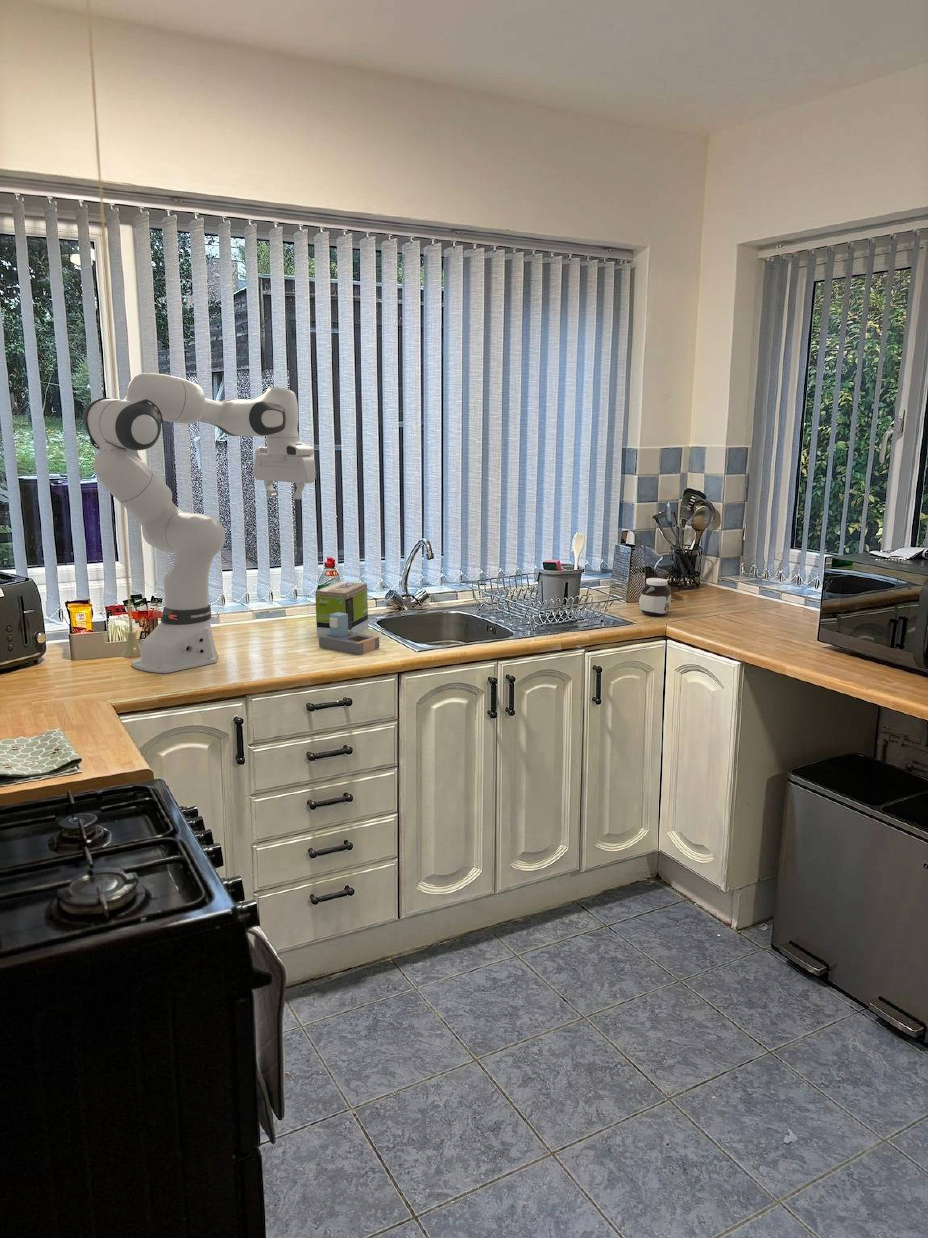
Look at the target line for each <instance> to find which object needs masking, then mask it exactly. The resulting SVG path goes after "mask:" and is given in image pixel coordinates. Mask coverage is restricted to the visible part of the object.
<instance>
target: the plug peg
mask: <svg viewBox="0 0 928 1238" xmlns="http://www.w3.org/2000/svg"><path fill="white" fill-rule="evenodd" d="M330 636H331V637H337V638H343V637H346V636H348V614H346V613H340V612H337V613H333V614H330Z"/></svg>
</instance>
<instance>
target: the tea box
mask: <svg viewBox="0 0 928 1238" xmlns="http://www.w3.org/2000/svg"><path fill="white" fill-rule="evenodd" d="M314 593H315V594H314V596H315V597H314V598H315V616H316V617H315V618H316V619H315V622H316V635H317V637H319V636H322V635H326V634H329V633H330V614H333V613H337V612H340V613H346V614H348V632H353V633H358V634H360V633H361V632H363V631H365V630H369V608H368V607H369V606H368V605H369V604H368V583H365V582H364V583H363V582H349V581H336V582H333V583H332V584H328V585H326V586H324V587H321V588H319V589H317V590H315V591H314Z"/></svg>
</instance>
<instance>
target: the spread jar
mask: <svg viewBox="0 0 928 1238" xmlns="http://www.w3.org/2000/svg"><path fill="white" fill-rule="evenodd" d="M671 601H672V592H671V589H670V587H669V586H668V580H667V579H665V578H661V577H659V578H658V577H649V578H646V583H645V585H644V587H643V588H642V590H641V593H640V597H639V600H638V603H639V609H640V612H641V613H642V614H643V615H645V616H648V617H656V618H657V617H658V618H659V617H661V618H662V617H664V616H666V615H667V614H668V613H669V611H670V609H671Z"/></svg>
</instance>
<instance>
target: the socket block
mask: <svg viewBox="0 0 928 1238" xmlns="http://www.w3.org/2000/svg"><path fill="white" fill-rule="evenodd" d="M318 647H319V648H321V649H326V650H332V651H337V652H342V653H347V654H352V655H356V656H360V655H363V654H366V653H369V652H371V651H374V650H377V649H380V636H378V635H377V636H374V635H368V634H363V633H353V632H348V636H346V637H343V638H337V637H331V636H330V633H329V634H326V635H322V636H318Z"/></svg>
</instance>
